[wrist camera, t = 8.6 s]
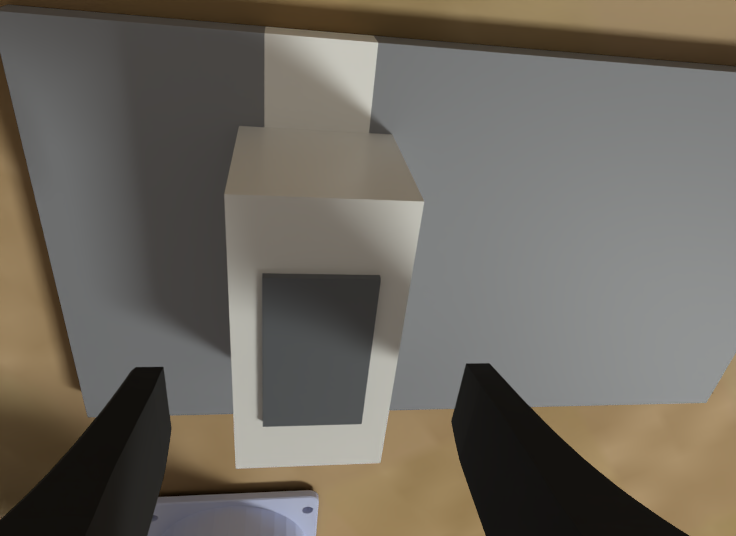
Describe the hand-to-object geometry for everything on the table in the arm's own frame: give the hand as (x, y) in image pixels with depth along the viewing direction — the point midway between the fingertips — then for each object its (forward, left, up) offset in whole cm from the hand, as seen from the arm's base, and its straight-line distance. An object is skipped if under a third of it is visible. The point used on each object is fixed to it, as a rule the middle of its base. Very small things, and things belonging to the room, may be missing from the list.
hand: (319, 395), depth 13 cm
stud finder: (0, 0, -6) cm, 6 cm away
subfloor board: (0, -5, -7) cm, 9 cm away
